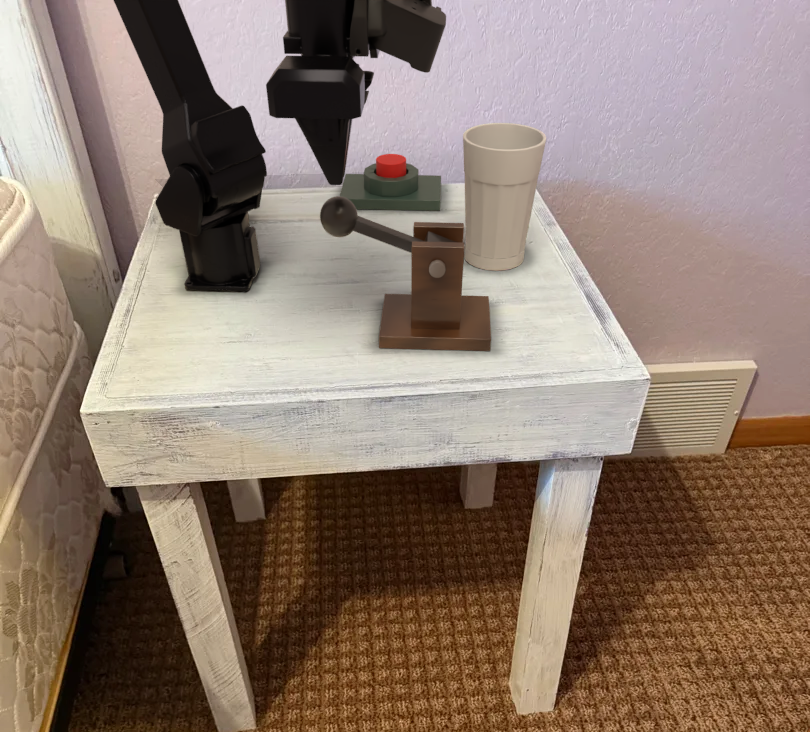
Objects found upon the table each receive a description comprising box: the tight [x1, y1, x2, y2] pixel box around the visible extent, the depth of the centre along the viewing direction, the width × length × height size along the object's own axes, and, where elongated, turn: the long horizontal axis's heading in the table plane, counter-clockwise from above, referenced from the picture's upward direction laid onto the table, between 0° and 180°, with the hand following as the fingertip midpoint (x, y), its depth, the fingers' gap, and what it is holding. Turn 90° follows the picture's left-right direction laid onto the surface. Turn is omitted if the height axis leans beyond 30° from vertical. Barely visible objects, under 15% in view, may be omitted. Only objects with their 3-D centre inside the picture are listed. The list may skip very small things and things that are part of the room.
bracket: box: [378, 221, 492, 352], centre depth 68 cm, size 10×8×9 cm
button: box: [375, 153, 407, 178], centre depth 91 cm, size 4×4×2 cm
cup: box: [462, 122, 547, 271], centre depth 77 cm, size 8×8×12 cm
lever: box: [319, 195, 455, 254], centre depth 65 cm, size 12×3×3 cm, turn 87°
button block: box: [339, 162, 442, 212], centre depth 92 cm, size 12×8×3 cm, turn 87°
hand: (336, 181), depth 62 cm, fingers closed
